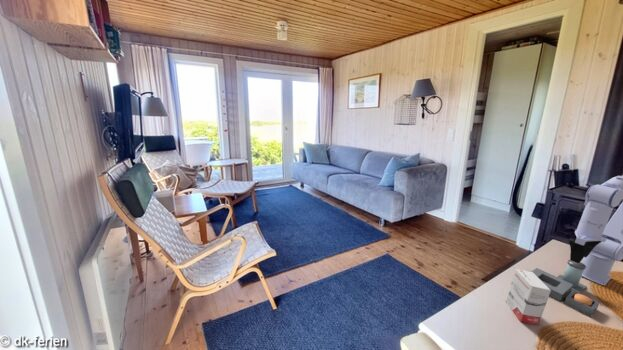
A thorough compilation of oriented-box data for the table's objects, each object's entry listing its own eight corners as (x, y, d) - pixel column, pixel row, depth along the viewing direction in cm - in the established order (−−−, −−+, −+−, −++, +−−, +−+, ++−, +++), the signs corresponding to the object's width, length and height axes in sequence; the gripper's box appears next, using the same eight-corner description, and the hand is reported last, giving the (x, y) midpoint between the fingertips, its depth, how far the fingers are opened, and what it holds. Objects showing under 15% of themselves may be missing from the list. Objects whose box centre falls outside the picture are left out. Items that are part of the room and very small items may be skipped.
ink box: (539, 326, 72) (552, 290, 69) (520, 322, 73) (532, 287, 70) (522, 303, 80) (533, 270, 77) (504, 300, 81) (514, 268, 78)
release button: (574, 298, 83) (577, 292, 82) (591, 306, 80) (594, 300, 79) (570, 302, 81) (573, 296, 80) (587, 311, 78) (590, 304, 77)
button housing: (570, 296, 84) (573, 290, 84) (596, 309, 79) (599, 302, 79) (564, 303, 81) (566, 296, 80) (590, 316, 76) (593, 310, 76)
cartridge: (562, 277, 93) (570, 258, 91) (579, 285, 90) (587, 265, 87) (558, 281, 91) (566, 261, 89) (576, 289, 87) (584, 268, 85)
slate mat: (559, 275, 95) (560, 274, 95) (586, 287, 89) (586, 286, 89) (552, 281, 91) (552, 280, 91) (579, 294, 86) (579, 293, 86)
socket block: (534, 273, 95) (536, 267, 95) (570, 290, 87) (573, 284, 86) (522, 282, 90) (524, 276, 89) (559, 301, 82) (562, 294, 81)
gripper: (604, 231, 77) (588, 271, 80) (617, 223, 84) (601, 259, 88) (573, 221, 82) (558, 259, 86) (587, 214, 90) (573, 249, 93)
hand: (578, 258), depth 87 cm, fingers open, 7 cm apart
